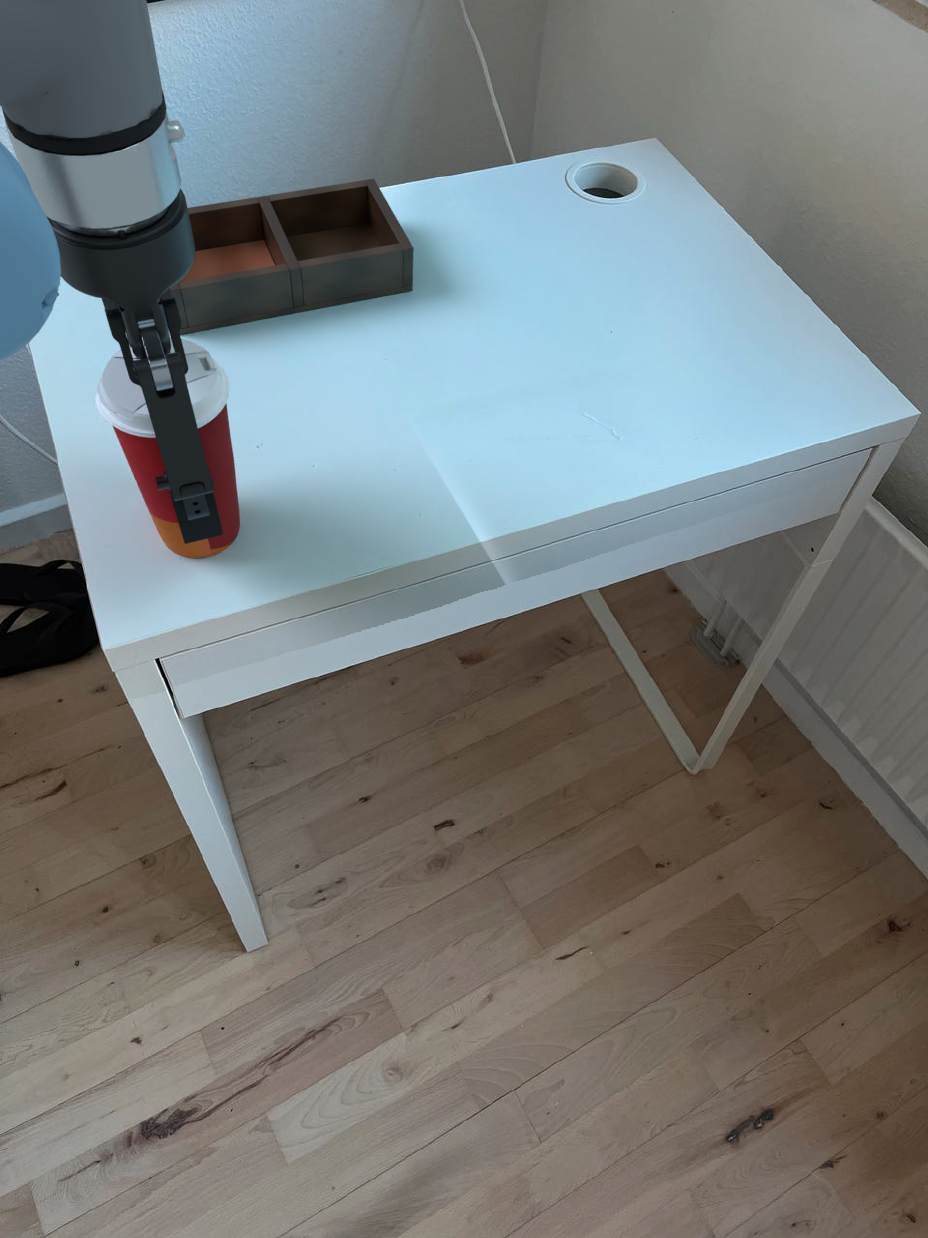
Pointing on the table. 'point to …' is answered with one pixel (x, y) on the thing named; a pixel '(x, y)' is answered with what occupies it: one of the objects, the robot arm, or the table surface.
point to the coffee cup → (138, 441)
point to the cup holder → (292, 255)
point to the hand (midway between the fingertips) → (189, 489)
